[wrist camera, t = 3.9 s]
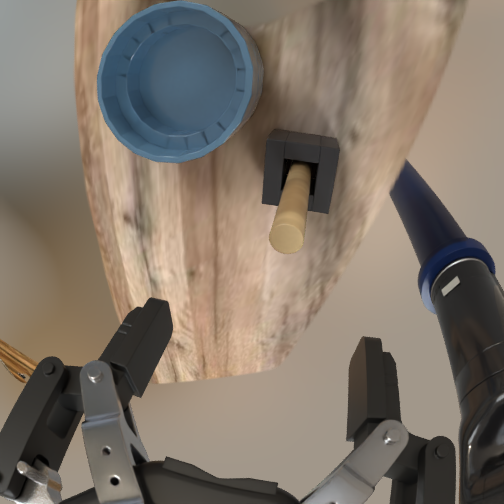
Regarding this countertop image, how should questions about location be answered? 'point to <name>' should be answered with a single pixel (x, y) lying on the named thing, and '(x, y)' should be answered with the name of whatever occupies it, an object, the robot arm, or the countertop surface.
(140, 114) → the bowl
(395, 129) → the countertop surface
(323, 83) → the countertop surface
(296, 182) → the stick
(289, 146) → the holder
